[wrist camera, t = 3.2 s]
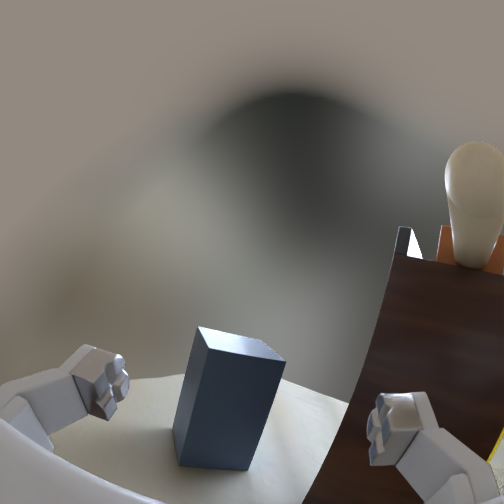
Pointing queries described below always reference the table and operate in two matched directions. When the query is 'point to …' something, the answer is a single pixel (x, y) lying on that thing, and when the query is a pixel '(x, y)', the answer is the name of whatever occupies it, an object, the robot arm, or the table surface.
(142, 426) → the table surface
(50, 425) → the robot arm
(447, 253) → the mallet
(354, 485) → the stand
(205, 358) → the block
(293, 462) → the table surface
